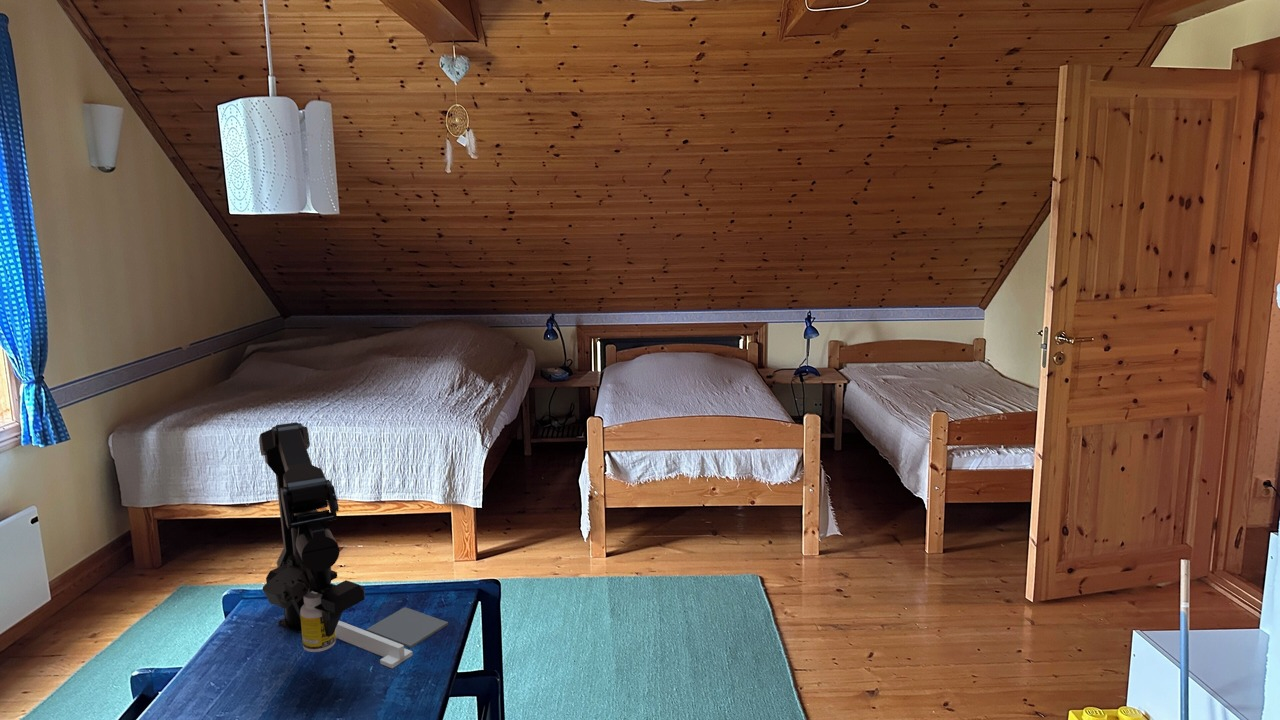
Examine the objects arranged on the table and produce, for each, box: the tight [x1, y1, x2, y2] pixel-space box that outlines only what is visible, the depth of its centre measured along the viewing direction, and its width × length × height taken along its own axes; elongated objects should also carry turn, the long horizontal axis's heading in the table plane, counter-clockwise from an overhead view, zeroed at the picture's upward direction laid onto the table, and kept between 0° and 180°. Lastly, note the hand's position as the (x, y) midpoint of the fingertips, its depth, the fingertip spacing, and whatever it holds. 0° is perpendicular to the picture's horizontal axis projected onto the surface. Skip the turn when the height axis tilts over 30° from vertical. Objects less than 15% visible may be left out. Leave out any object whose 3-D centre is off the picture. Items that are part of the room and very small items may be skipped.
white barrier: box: [335, 620, 413, 669], centre depth 154 cm, size 20×5×3 cm, turn 60°
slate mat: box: [365, 606, 449, 649], centre depth 161 cm, size 12×10×1 cm
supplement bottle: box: [300, 592, 337, 653], centre depth 142 cm, size 5×5×10 cm
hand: (318, 631), depth 142 cm, fingers closed on supplement bottle, 5 cm apart
